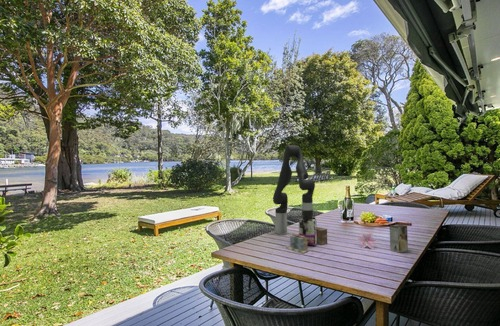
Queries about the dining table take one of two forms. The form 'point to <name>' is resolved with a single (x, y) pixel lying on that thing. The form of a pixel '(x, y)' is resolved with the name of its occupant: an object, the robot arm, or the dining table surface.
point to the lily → (367, 240)
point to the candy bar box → (310, 231)
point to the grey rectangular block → (298, 243)
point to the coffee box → (398, 238)
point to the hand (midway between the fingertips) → (307, 233)
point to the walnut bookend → (321, 236)
